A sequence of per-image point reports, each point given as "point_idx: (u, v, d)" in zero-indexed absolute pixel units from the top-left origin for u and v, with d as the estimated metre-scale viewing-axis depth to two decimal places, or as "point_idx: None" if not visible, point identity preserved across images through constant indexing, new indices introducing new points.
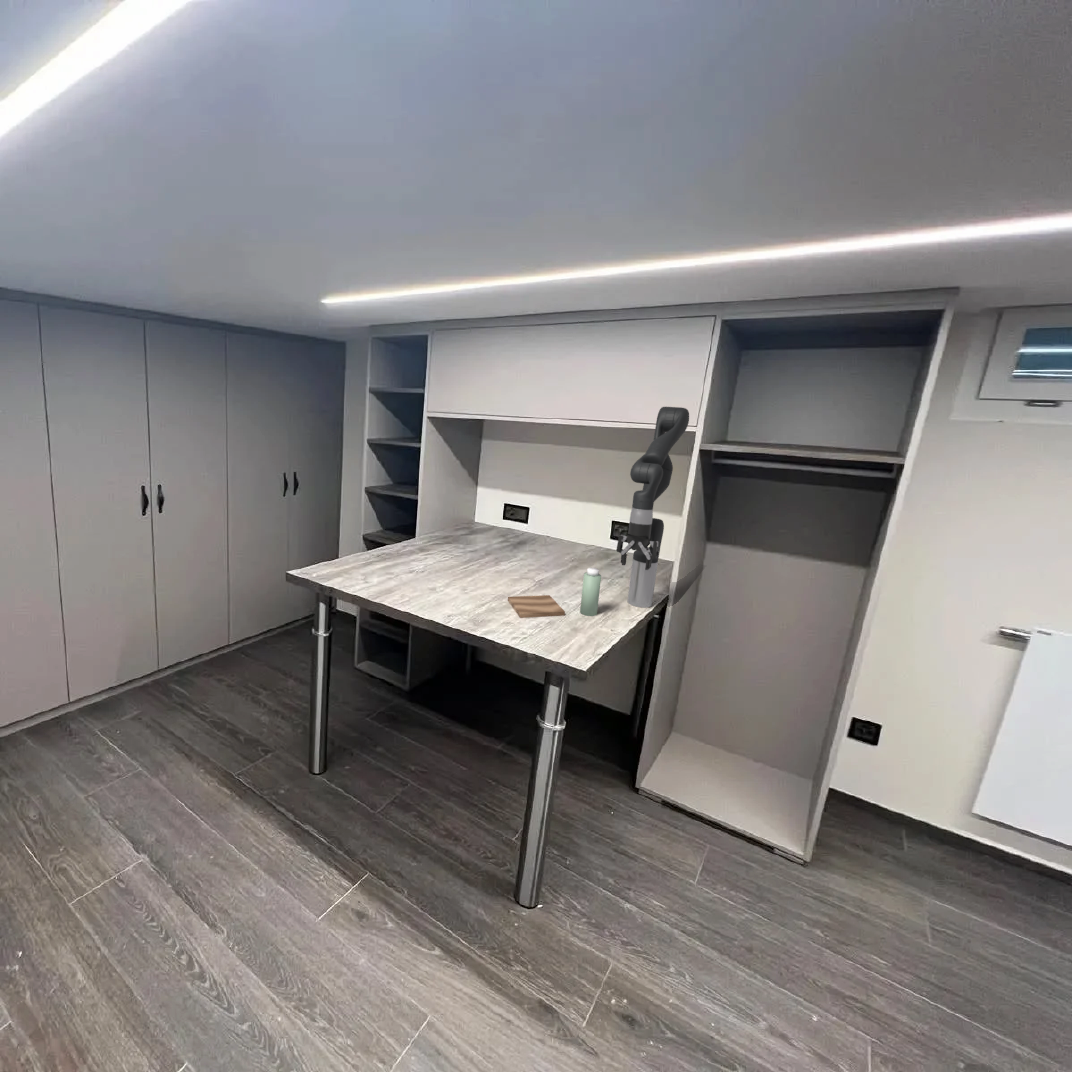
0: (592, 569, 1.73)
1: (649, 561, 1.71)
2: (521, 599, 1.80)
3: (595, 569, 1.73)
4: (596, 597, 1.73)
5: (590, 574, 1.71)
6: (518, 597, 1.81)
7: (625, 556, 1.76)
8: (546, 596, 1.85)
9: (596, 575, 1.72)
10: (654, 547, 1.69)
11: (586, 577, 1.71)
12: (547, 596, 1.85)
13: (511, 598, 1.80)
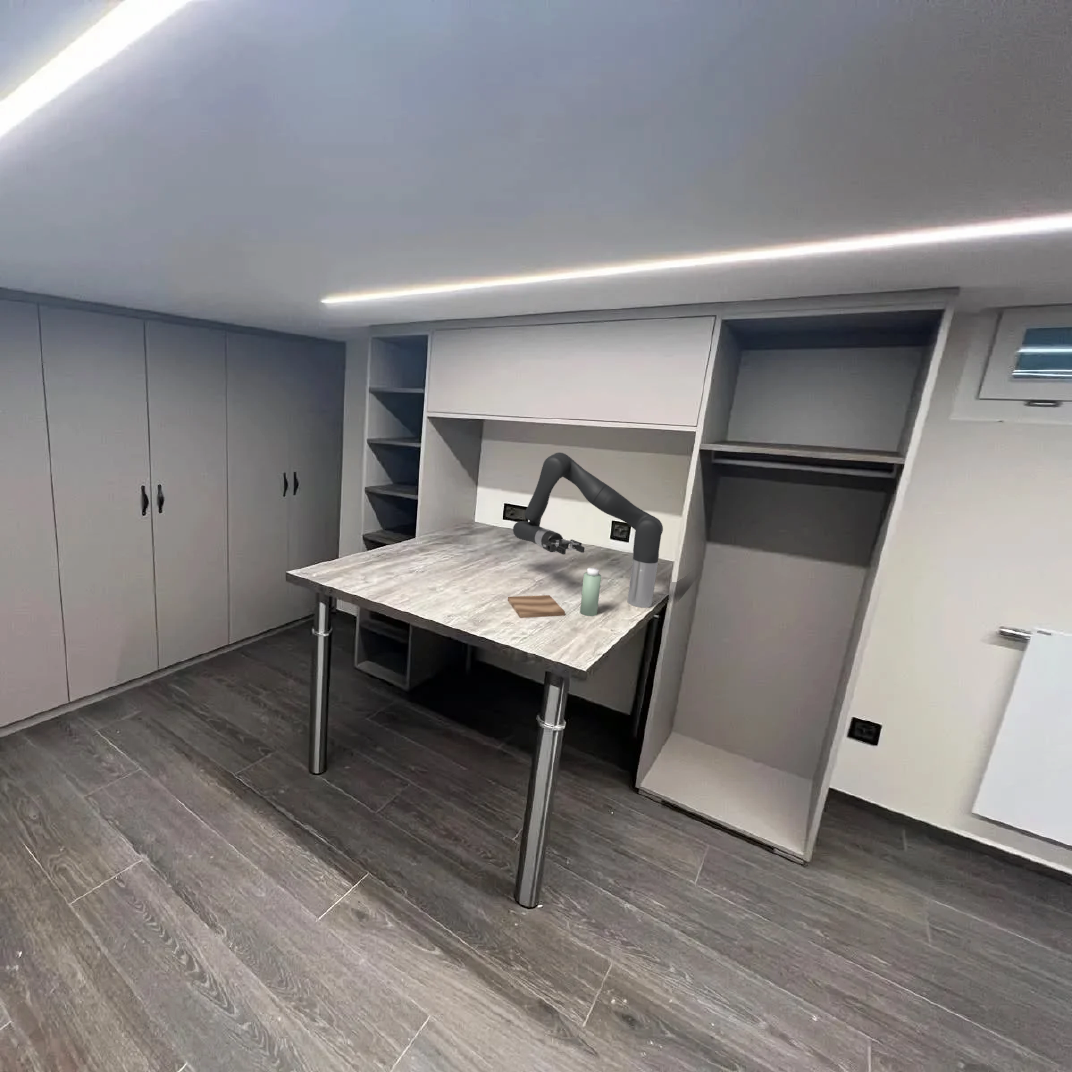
0: (592, 569, 1.73)
1: (557, 551, 1.81)
2: (521, 599, 1.80)
3: (595, 569, 1.73)
4: (596, 597, 1.73)
5: (590, 574, 1.71)
6: (518, 597, 1.81)
7: (577, 548, 1.85)
8: (546, 596, 1.85)
9: (596, 575, 1.72)
10: None
11: (586, 577, 1.71)
12: (547, 596, 1.85)
13: (511, 598, 1.80)
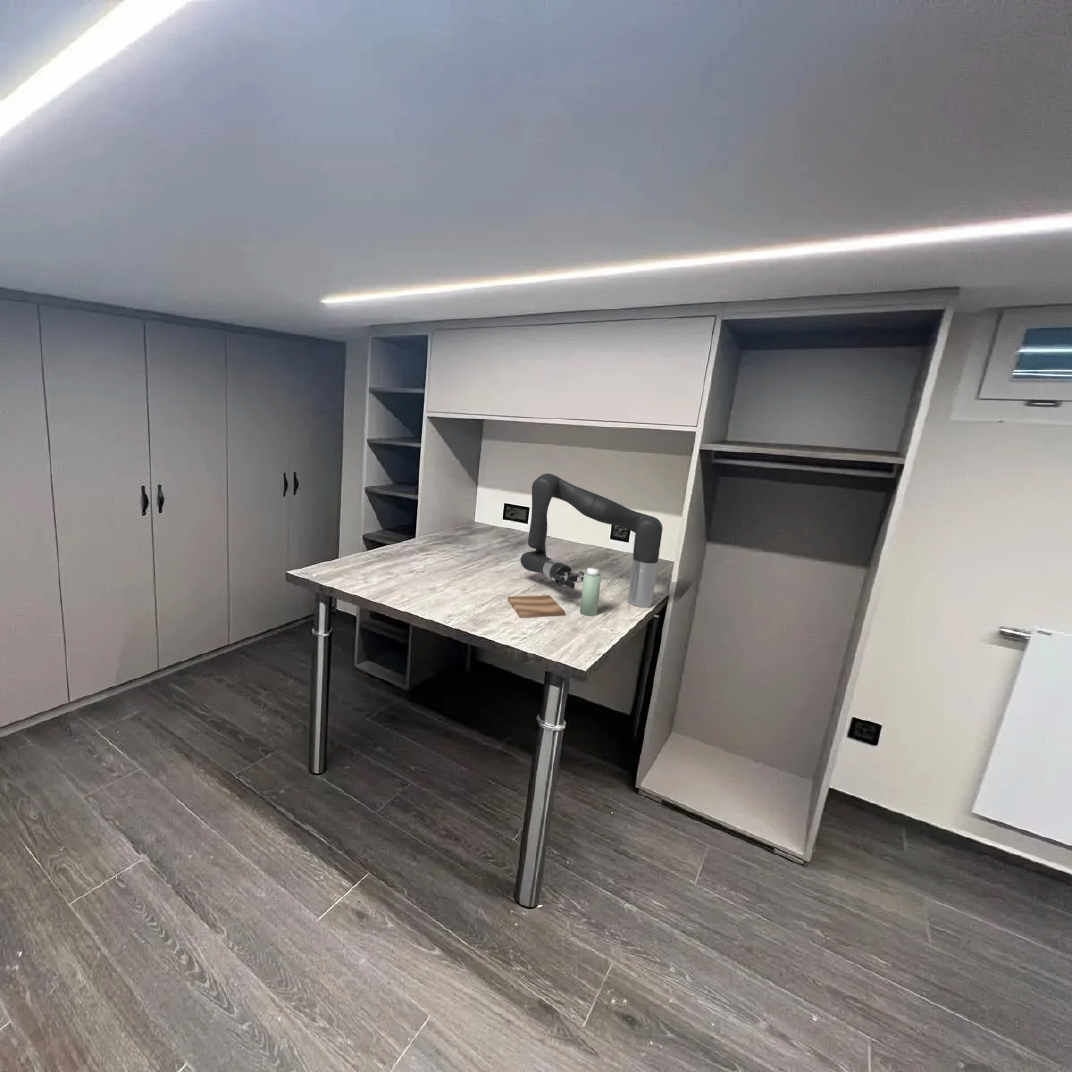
0: (592, 569, 1.73)
1: None
2: (521, 599, 1.80)
3: (595, 569, 1.73)
4: (596, 597, 1.73)
5: (590, 574, 1.71)
6: (518, 597, 1.81)
7: None
8: (546, 596, 1.85)
9: (596, 575, 1.72)
10: None
11: (586, 577, 1.71)
12: (547, 596, 1.85)
13: (511, 598, 1.80)
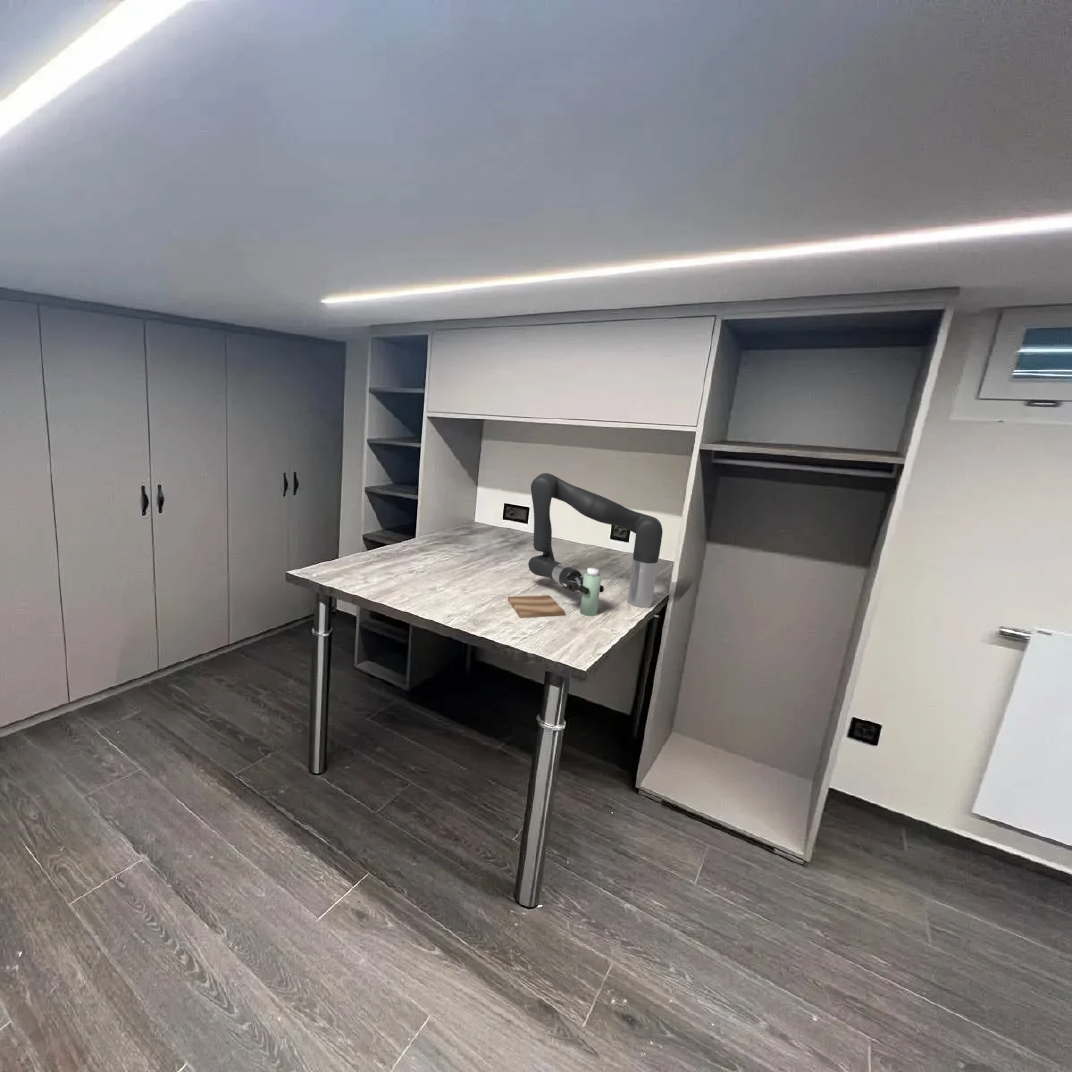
0: (592, 569, 1.73)
1: None
2: (521, 599, 1.80)
3: (595, 569, 1.73)
4: (596, 597, 1.73)
5: (590, 574, 1.71)
6: (518, 597, 1.81)
7: None
8: (546, 596, 1.85)
9: (596, 575, 1.72)
10: None
11: (586, 577, 1.71)
12: (547, 596, 1.85)
13: (511, 598, 1.80)
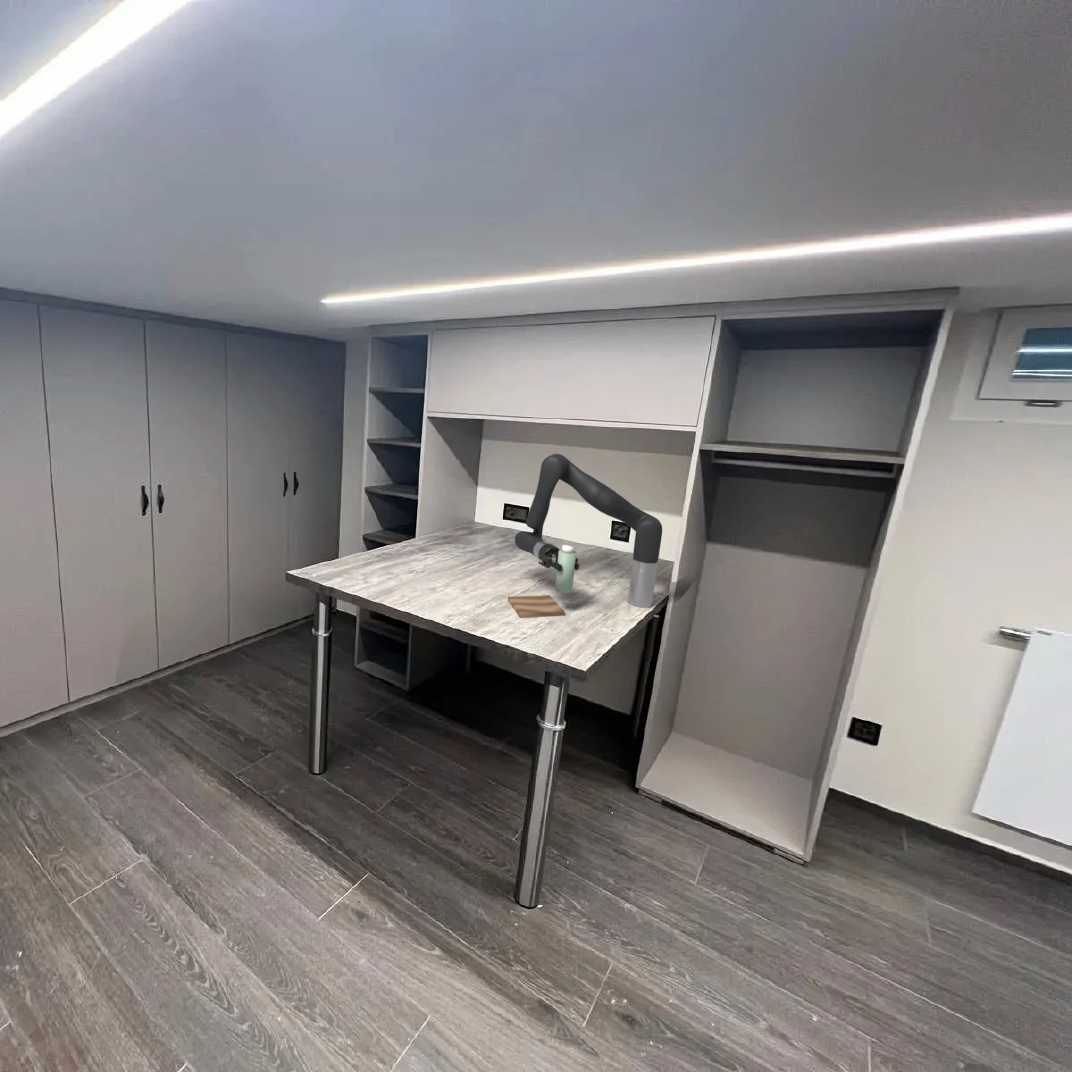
0: (567, 546, 1.70)
1: None
2: (521, 599, 1.80)
3: (570, 546, 1.71)
4: (570, 574, 1.70)
5: (564, 551, 1.69)
6: (518, 597, 1.81)
7: None
8: (546, 596, 1.85)
9: (570, 552, 1.69)
10: None
11: (560, 554, 1.70)
12: (547, 596, 1.85)
13: (511, 598, 1.80)
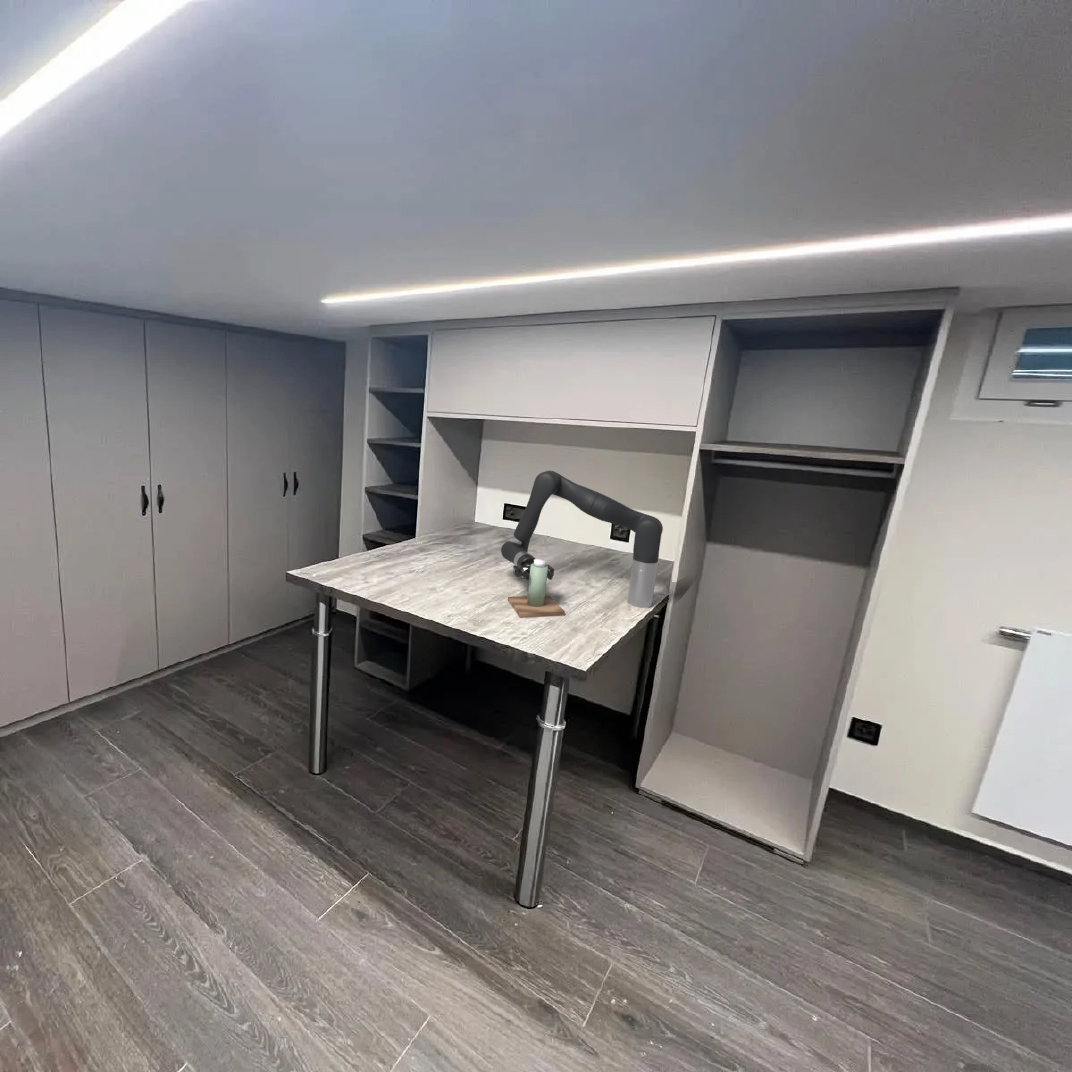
0: (538, 560, 1.73)
1: None
2: (521, 599, 1.80)
3: (542, 560, 1.73)
4: (540, 588, 1.72)
5: (535, 565, 1.72)
6: (518, 597, 1.81)
7: (547, 574, 1.76)
8: (546, 596, 1.85)
9: (541, 566, 1.71)
10: None
11: (531, 567, 1.72)
12: (547, 596, 1.85)
13: (511, 598, 1.80)
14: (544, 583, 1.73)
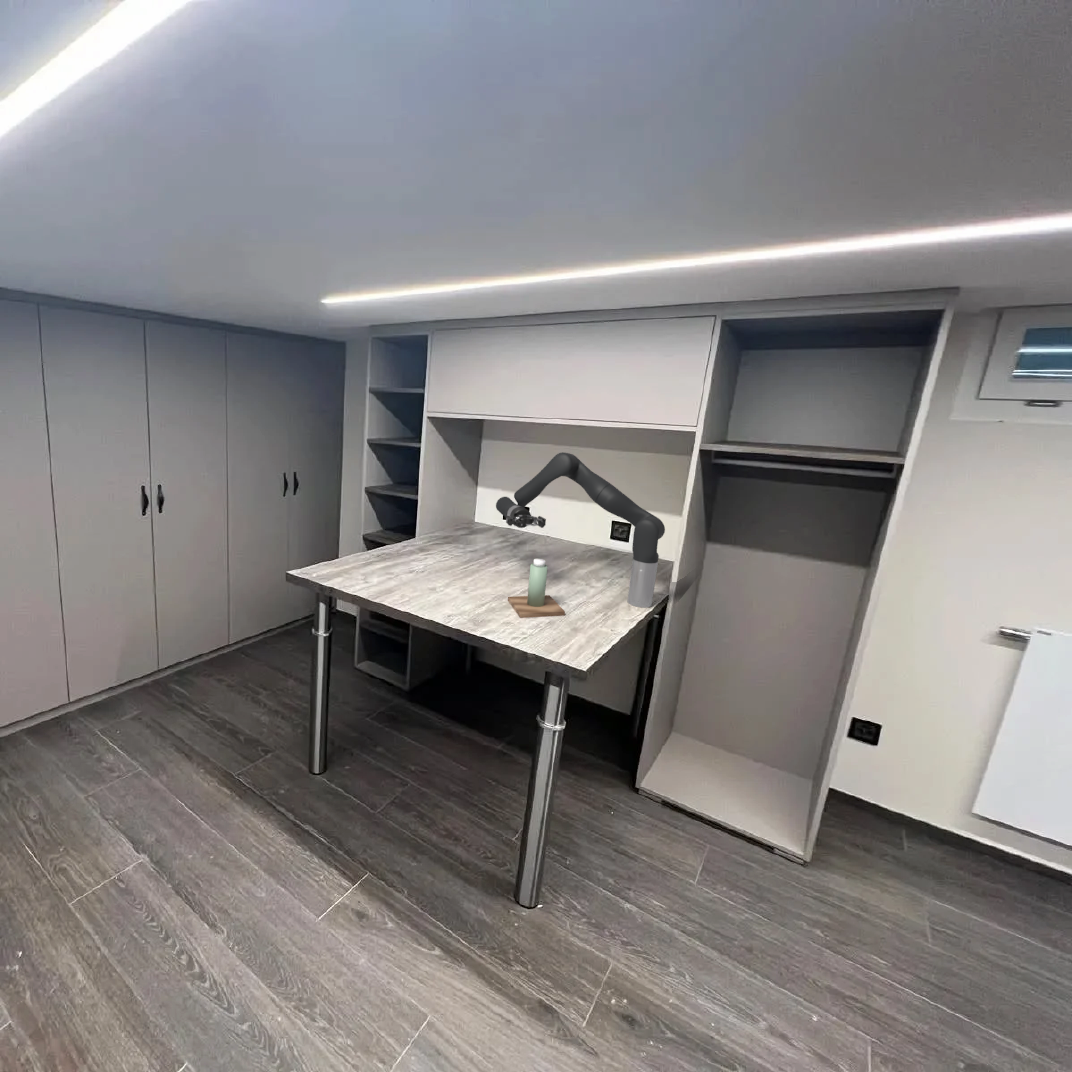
0: (538, 560, 1.73)
1: None
2: (521, 599, 1.80)
3: (541, 560, 1.73)
4: (540, 588, 1.73)
5: (535, 564, 1.72)
6: (518, 597, 1.81)
7: (539, 523, 1.85)
8: (546, 596, 1.85)
9: (540, 566, 1.72)
10: None
11: (531, 567, 1.72)
12: (547, 596, 1.85)
13: (511, 598, 1.80)
14: (544, 583, 1.73)
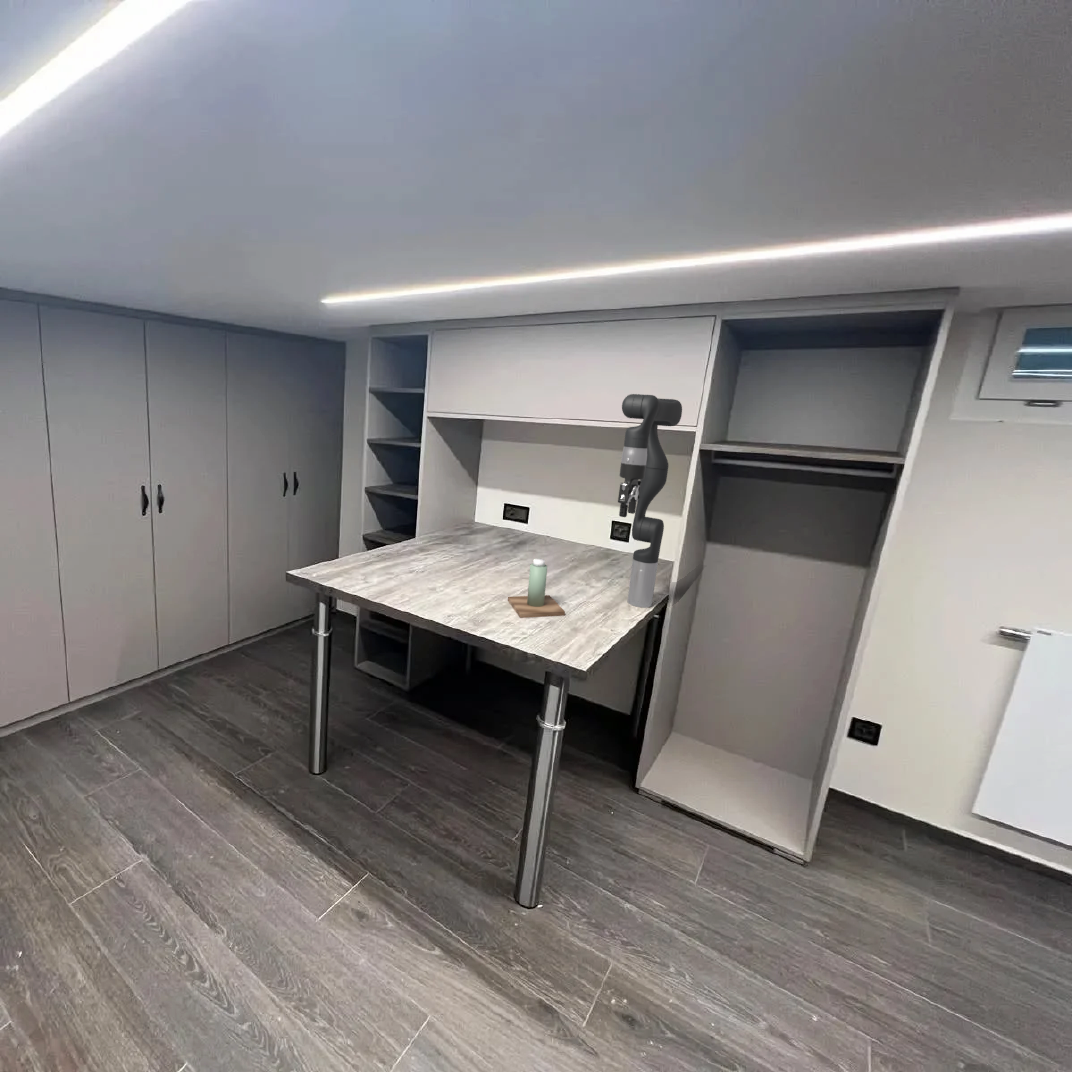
0: (538, 560, 1.73)
1: (621, 506, 1.51)
2: (521, 599, 1.80)
3: (541, 560, 1.73)
4: (540, 588, 1.73)
5: (534, 564, 1.72)
6: (518, 597, 1.81)
7: (631, 503, 1.58)
8: (546, 596, 1.85)
9: (540, 566, 1.72)
10: None
11: (530, 567, 1.73)
12: (547, 596, 1.85)
13: (511, 598, 1.80)
14: (544, 583, 1.73)
